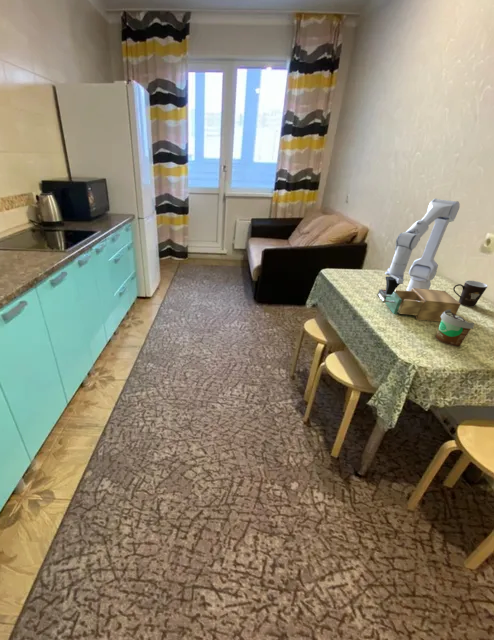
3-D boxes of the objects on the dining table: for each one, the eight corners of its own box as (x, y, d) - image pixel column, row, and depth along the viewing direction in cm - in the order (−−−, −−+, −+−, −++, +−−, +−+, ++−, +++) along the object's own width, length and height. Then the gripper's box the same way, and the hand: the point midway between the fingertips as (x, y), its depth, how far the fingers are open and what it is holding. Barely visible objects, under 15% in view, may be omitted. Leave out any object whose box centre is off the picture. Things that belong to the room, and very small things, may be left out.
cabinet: (417, 319, 138) (425, 300, 134) (405, 305, 151) (412, 287, 146) (451, 322, 137) (460, 303, 132) (437, 308, 149) (445, 290, 145)
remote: (383, 301, 153) (385, 295, 152) (377, 294, 162) (379, 288, 160) (392, 302, 153) (394, 296, 151) (386, 295, 161) (388, 289, 159)
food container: (424, 332, 129) (435, 308, 123) (439, 332, 129) (450, 308, 124) (446, 348, 118) (459, 323, 113) (462, 348, 119) (475, 323, 113)
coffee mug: (478, 304, 156) (489, 284, 151) (475, 309, 150) (486, 288, 145) (450, 297, 162) (459, 277, 157) (446, 301, 157) (456, 281, 152)
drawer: (381, 313, 140) (386, 298, 137) (373, 301, 152) (378, 287, 148) (424, 317, 138) (431, 302, 135) (413, 305, 149) (419, 290, 146)
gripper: (384, 257, 142) (374, 287, 149) (394, 267, 129) (383, 299, 137) (401, 258, 141) (390, 288, 148) (413, 269, 129) (401, 301, 136)
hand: (388, 294), depth 142 cm, fingers closed
